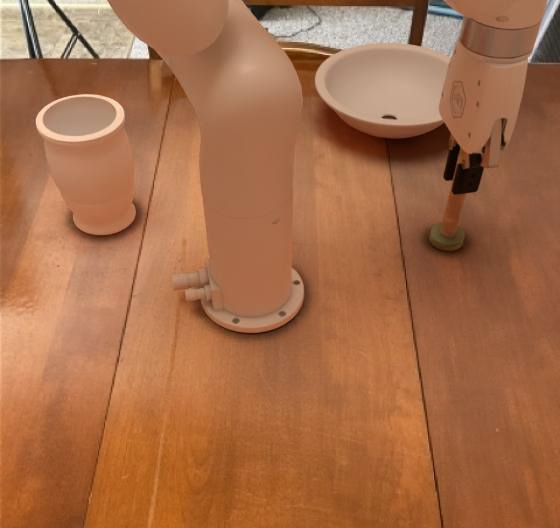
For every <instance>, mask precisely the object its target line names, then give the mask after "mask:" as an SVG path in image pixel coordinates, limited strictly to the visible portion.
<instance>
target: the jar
mask: <svg viewBox="0 0 560 528" xmlns="http://www.w3.org/2000/svg"><path fill="white" fill-rule="evenodd" d="M125 122H126V115H125V110H124V108H123V106H122V105H121V104H120V103H119V102H118V101H116V100H115V99H113V98H110V97H108V96H104V95H101V94H92V93H91V94H90V93H83V94H82V93H81V94H73V95H69V96H65V97H62V98H61V97H60V98H59V99H55V100H54V101H52V102H50V103H48V104H46V105H45V106H43V108H42V109H40V111H39V112H38V113H37V115H36V118H35V125H36V130H37V132H38V134H39V135H40V137H41V138H42V139H43V147H44V153H45V159H46V163H47V166H48V170H49V173H50V175H51V177H52V179H53V182H54V184H55V186H56V187H57V189H58V190H59V193H60V195H61V198H62V199H63V201H64V203H65V204H66V206H67V207H68V208H69V209H70V212H72V213H73V214H72V219H73V220H72V221H73V223H74V225H75V227H77V229H79V230H80V231H81V232H83V233H86V234H89V235H94V236H108V235H113V234H116V233H119V232H122V231H124V230H125V229H127V228H128V227H130V225H131V224H132V223H133V222H134V220H135V219H136V215H137V211H136V207H135V205H134V203H133V201H134V197H135V163H134V162H135V161H134V155H133V150H132V146H131V143H130V139H129V136H128V133H127V131H126V130H125V129H126V128H125V127H124V126H125Z"/></svg>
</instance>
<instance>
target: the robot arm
mask: <svg viewBox="0 0 560 528" xmlns="http://www.w3.org/2000/svg"><path fill="white" fill-rule="evenodd" d="M442 1H443V2H444V3H445V4H446V5H448V6H449V7H450V8H451V9H453V11H455V12H456V13H458V14H459V15H461V16H462V20H461V26H460V30H459V33H458V36H457V39H456V42H455V43H454V47H453V50H452V52H451V56H450V57H451V59H450V62H449V66H448V69H447V73H446V77H445V81H444V85H443V89H442V93H441V98H440V103H439V113H440V115H441V117H442V119H443V121H444V123H443V124H444V125H445V127H447V129H448V131H449V132H450V135H449V139H448V147H449V150H448V154H447V157H446V162H445V167H444V171H443V176H442V178H443V180H444V181H445V182H446V181H447V182H452V180H453V176H454V172H455V168H456V164H457V159H458V155H459V151H460V147H461V148H462V149H463V150H464V154H463V158H462V163H460V164H458V165H457V169H456V173H455V177H454V181H453V185H452V190H451V191H452V193H453V194H454V195H457V194H465V193H466V194H470V193H471V194H473V193H476V192H478V191H479V188H480V185H481V181H482V177H483V173H484V170H485V169H494V168H498V167H499V166H500V158H501V151H504V150H505V149H506V148H507V147H508V146H509V143H510V141H511V138H512V136H513V132H514V130H515V126H516V123H517V119H518V115H519V111H520V107H521V102H522V99H523V95H524V88H525V84H526V79H527V72H528V66H529V58H530V57H531V56H532V54H533V51H534V48H535V44H536V41H537V37H538V34H539V31H540V28H541V24H542V22H543V17H544V15H545V11H546V8H547V4H548V1H549V0H442ZM106 2H107V3H108V5H109V6H110V8H111V9H112V11H113V12H114V14H115V15H116V17H117V18H118V19H119V20H120V22H121V23H122V24H123V25H124V26H125V28H126V29H127V30H128V31H129V32H130V33H131V34H132V35H134V36H135V37H136V38H137V39H138V40H139V41H141V43H144V44H145V45H147V46H148V47H150V48H151V49H153V50H154V51H155V52H156V53H157V55H158V56H159V57H160V58H161V60H162V61H163V62H164V63H165V64H166V66H167V67H168V68H169V69H170V71H171V72H172V74H173V75H174V76H175V78H176V80H177V82H178V84H179V85H180V86H181V88H182V90H183V91H184V94H185V96H186V98H187V100H188V101H189V102H190V105H191V106H192V108H193V110H194V112H195V115H196V118H197V121H198V126H199V133H200V144H199V145H200V146H199V155H198V156H199V157H198V168H199V169H198V170H199V181H200V182H199V183H200V191H201V197H202V206H203V215H204V224H205V225H204V226H205V232H206V233H205V234H206V242H207V250H208V251H207V253H208V257H206V258H205V259H204V261H205V266H204V267H198V268H197V271H194V272H193V271H192V272H179V273H173V274H171V279H172V280H171V281H172V285H173V286H172V287H173V291H181V290H184V295H185V301H186V302H194V301H197V300H200V302H201V306H202V309H203V311H204V312H205V314H206V315H207V316H208V317H209V318H210V320H211V321H213V322H214V323H215V324H217V325H218V326H220V327H223V328H225V329H226V330H231V331H232V332H233V331H234V332H236V333H237V332H238V333H243V334H244V333H246V334H248V333H249V334H253V333H254V334H256V333H263V332H264V333H265V332H269V331H271V330H276V329H278V328H280V327H282V326H284V325H286V324H287V323H289V322H291V320H292V319H294V318H295V316H296V315H297V314H298V313H299V312H300V310H301V308H302V306H303V303H304V299H305V286H304V282H303V279H302V277H301V275H300V274H299V273H298V272H297V270H296V269H295V268H293V215H294V214H293V213H294V211H293V210H294V161H295V149H296V143H297V137H298V133H299V129H300V125H301V119H302V114H303V106H304V105H303V104H304V103H303V102H304V99H303V97H304V96H303V90H302V84H301V81H300V77H299V75H298V73H297V70H296V68H295V66H294V64H293V62H292V61H291V59H290V57H289V56H288V54H287V53H286V52H285V50H284V49H283V47H282V46H281V45H280V44H279V43H278V42H277V40H276V39H275V38H274V37H273V35H272V34H271V33H270V32H269V31H268V29H266V27H264V25H262V23H261V22H260V21H259V20H258V19H257V17H256V16H255V14H253V13H252V11H251V10H250V9H249V8H248V7H247V5H246V4H245V2H244V1H243V0H106ZM480 151H481V152H480ZM473 153H477V154H474V155H473ZM194 287H200V288H194ZM190 288H191V289H190Z"/></svg>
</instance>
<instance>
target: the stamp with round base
mask: <svg viewBox="0 0 560 528" xmlns="http://www.w3.org/2000/svg"><path fill="white" fill-rule="evenodd" d="M477 153H478V152H477ZM477 153H473V155H474V154H477ZM463 154H464V150H463V149H462V148H461V147H460V151H459V155H458V159H457V164H456V168H455V172H454V176H453V180H451V185H450V189H449V193H448V197H447V201H446V205H445V209H444V214H443V218H442V222H438V223H436V224H434V225H433V226H432V227H431V228H430V232H429V237H428V240H429V242H430V244H431V245H432V246H433V247H435V248H436V249H438V250H439V251H444V252H454V251H458V250H459V249H460V248H461V247H462V246H463V244H464V241H465V236H466V234H465V231H464V230H463V228H462V227H461V226H459V223H460V220H461V215H462V211H463V208H464V204H465V200H466V197H467V193H465V194H457V195H454V194H453V193H452V191H451V190H452V185H453V181H454V177H455V173H456V169H457V165H458V164H460V163H462V158H463Z"/></svg>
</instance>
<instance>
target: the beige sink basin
mask: <svg viewBox="0 0 560 528" xmlns="http://www.w3.org/2000/svg"><path fill="white" fill-rule="evenodd" d="M450 59H451V56H449V55H447V54H445V53H443V52H440V51H437V50H435V49H431V48H430V47H429V48H428V47H424V46H421V45H415V44H409V43H400V42H399V43H398V42H374V43H366V44H360V45H355V46H351V47H348V48H344V49H343V50H340V51H338V52H336V53H334V54H332V55H330V56H329V57H328V58H326V59H325V60H324V61H323V62H322V63H321V64H320V65H319V67H318V68H317V69H316V72H315V75H314V87H315V91H316V93H317V94H318V96H319V97H320V99H321V100H322V101H323V103H324V104H326V105H327V106H328V107H329V108H330V109H332V110H333V112H335V114H336V115H337V116H338V117H339V118H340V119H341V120H342V121H344V123H346V124H347V125H349V126H350V127H352V128H353V129H355V130H357V131H359V132H361V133H364V134H367V135H370V136H374V137H377V138H383V139H407V138H414V137H418V136H420V135H424V134H426V133H429V132H431V131H434V130H435V129H436V128H439V127H440V126H442V125H443V124H445V123H444V121H443V119H442V117H441V115H440V113H439V103H440V98H441V93H442V89H443V85H444V81H445V77H446V73H447V69H448V66H449V62H450ZM384 117H393V118H395V119H392V118H384Z"/></svg>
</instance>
